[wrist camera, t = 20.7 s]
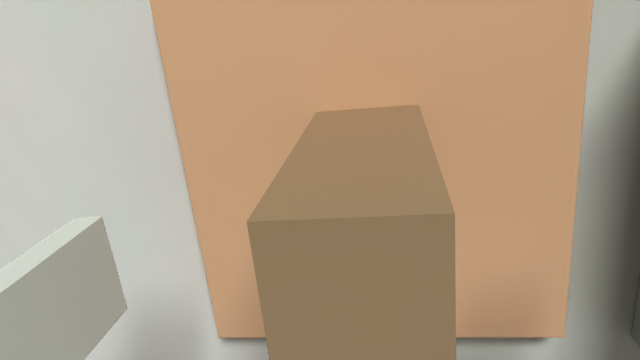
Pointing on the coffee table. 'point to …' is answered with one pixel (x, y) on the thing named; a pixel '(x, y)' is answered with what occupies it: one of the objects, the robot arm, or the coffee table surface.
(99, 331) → the robot arm
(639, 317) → the housing
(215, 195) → the cover
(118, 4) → the coffee table surface
